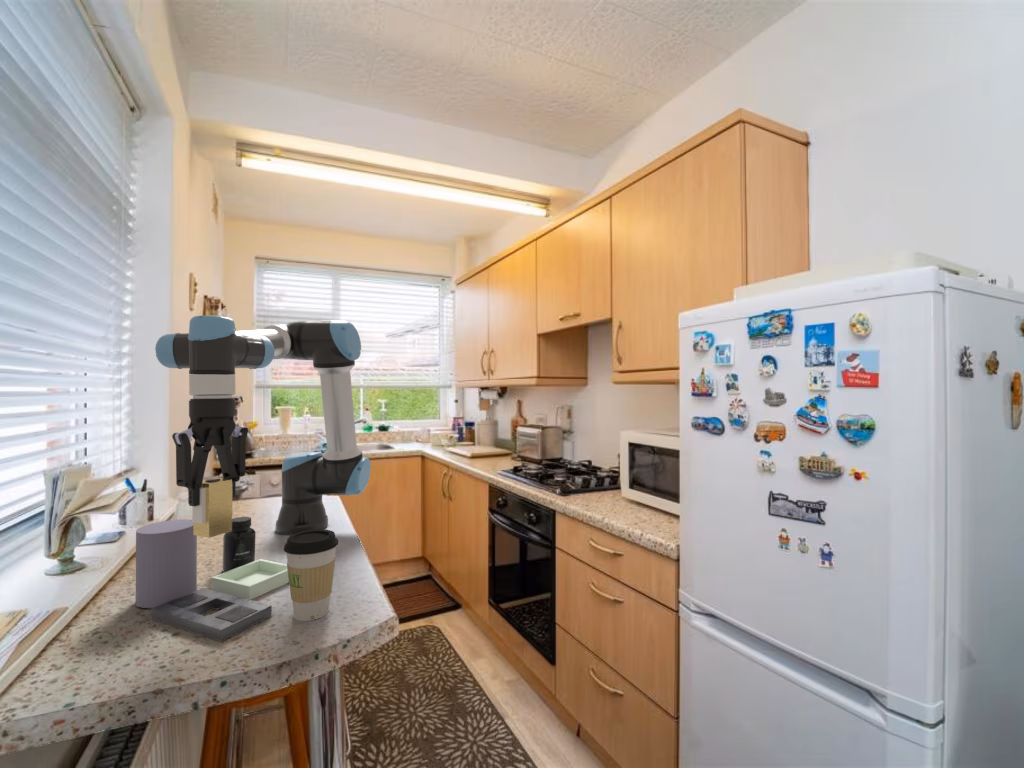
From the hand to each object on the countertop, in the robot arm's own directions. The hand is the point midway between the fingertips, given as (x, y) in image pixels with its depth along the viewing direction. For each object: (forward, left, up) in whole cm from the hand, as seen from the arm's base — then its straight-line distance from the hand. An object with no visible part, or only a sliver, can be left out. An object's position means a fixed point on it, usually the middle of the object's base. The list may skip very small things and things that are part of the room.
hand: (212, 518), depth 90 cm
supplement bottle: (-19, -18, -19) cm, 32 cm away
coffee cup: (-9, +16, -19) cm, 27 cm away
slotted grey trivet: (0, 0, -19) cm, 19 cm away
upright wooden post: (0, 0, -3) cm, 3 cm away
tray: (-14, -6, -19) cm, 24 cm away
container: (-2, -17, -19) cm, 26 cm away
